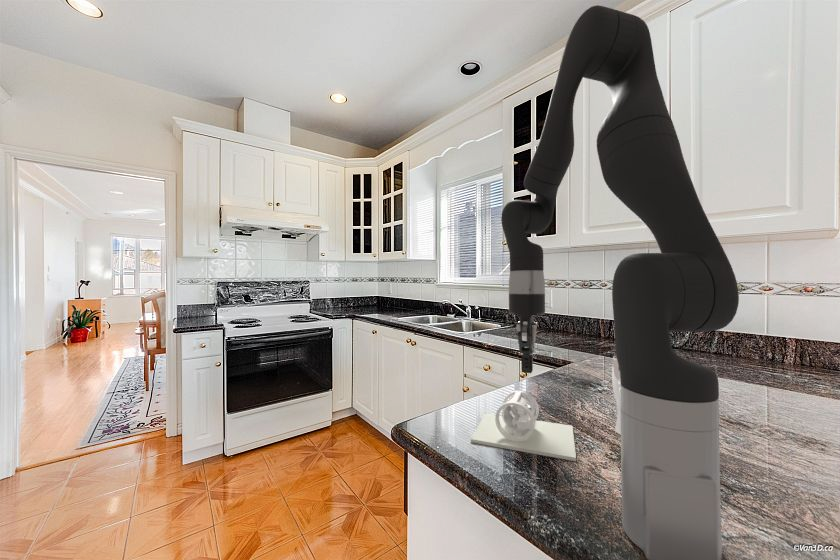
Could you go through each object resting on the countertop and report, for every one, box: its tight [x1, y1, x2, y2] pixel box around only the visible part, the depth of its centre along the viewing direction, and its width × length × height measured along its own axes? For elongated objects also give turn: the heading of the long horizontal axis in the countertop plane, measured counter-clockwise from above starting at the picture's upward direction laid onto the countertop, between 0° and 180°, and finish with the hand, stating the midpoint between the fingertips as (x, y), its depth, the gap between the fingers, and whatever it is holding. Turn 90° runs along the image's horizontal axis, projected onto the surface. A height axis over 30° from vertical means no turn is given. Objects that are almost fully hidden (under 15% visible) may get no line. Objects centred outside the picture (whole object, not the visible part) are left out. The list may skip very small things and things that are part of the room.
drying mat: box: [470, 412, 577, 462], centre depth 66 cm, size 14×18×1 cm
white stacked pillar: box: [495, 390, 540, 442], centre depth 68 cm, size 7×7×15 cm
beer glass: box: [611, 355, 621, 436], centre depth 67 cm, size 7×7×15 cm
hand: (527, 371), depth 72 cm, fingers closed
